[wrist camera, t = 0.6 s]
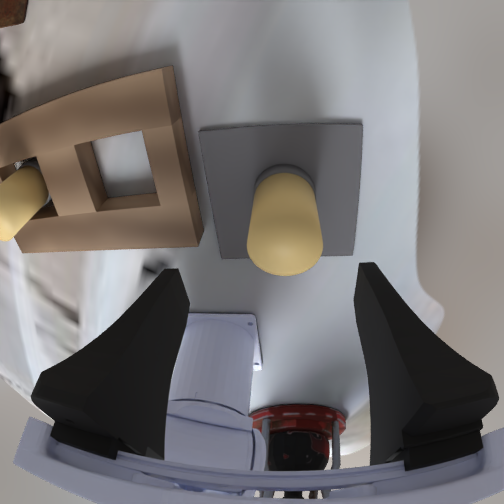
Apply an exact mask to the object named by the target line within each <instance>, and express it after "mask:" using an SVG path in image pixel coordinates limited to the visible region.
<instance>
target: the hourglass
mask: <svg viewBox="0 0 504 504" xmlns="http://www.w3.org/2000/svg"><path fill="white" fill-rule="evenodd" d="M248 417H251V418H253V424H252V428H254V429H258V430H259V431H260V433H261V435H262V436H263V437H264V440H265V444H266V461H265V468H264V471H316V470H324V469H325V467H326V465H327V463H328V460H329V453H330V450H329V441H328V440H331V439H332V460H333V462H332V467H331V470H333V469H339V468H340V465H341V464H340V438H339V435H341V434H342V433H343V432H344V431H345V429H346V422H345V416H344V415H343V414H342V413H341V412H340V411H337V410H335V409H332V408H329V407H324V406H317V405H301V404H294V405H280V406H274V407H269V408H263V409H261V410H258V411H256V412H253V413H251V414H250V415H249V416H248ZM259 492H260V497H261V498H273V496H274V492H275V491H259ZM284 492H285V493H284V497H283V499H304V498H303V497H302V491H284ZM330 492H331V490H321V493H322V497H323V499H326V498H327V497H329V493H330ZM317 495H318V490H314V491H310V493H309V499H317Z"/></svg>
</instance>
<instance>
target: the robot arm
mask: <svg viewBox="0 0 504 504" xmlns="http://www.w3.org/2000/svg"><path fill="white" fill-rule="evenodd" d="M189 306H190V302H189V299H188V296H187V293H186V290H185V287H184V284H183V281H182V278H181V275H180V272H179V269H164V270H163V271H162V272H161V273H160V274H159V276H158V277H157V278H156V279H155V280H154V281H153V282H152V283H151V285H150V286H149V287H148V288H147V289H146V290H145V291H144V292H143V293H142V295H141V296H140V297H139V298H138V299H137V300H136V301H135V302H134V303H133V304H132V305H131V306H130V307H129V308H128V309H127V310H126V311H125V312H124V314H123V315H122V316H121V317H120V318H119V319H118V320H117V321H115V322H114V323H113V324H112V325H111V326H110V327H109V328H108V329H107V330H105V331H104V332H103V333H102V334H101V335H99V336H98V337H97V338H96V339H94V340H93V341H92V342H90V343H89V344H88V345H86V346H85V347H84V348H82V349H81V350H79V351H78V352H76V353H75V354H73V355H72V356H70V357H68V358H67V359H65V360H64V361H62V362H60V363H58V364H56V365H54V366H52V367H51V368H49V369H47V370H45V371H43V372H41V374H40V376H39V379H38V381H37V383H36V385H35V387H34V390H33V392H32V394H31V399H32V401H33V403H34V404H35V405H36V406H37V407H38V408H40V409H41V410H42V411H43V412H44V413H46V414H47V415H48V416H49V417H51V418H52V419H53V420H54V421H55V423H54V426H51V425H49V424H47V423H45V422H43V421H40V420H38V419H35V418H32V417H29V419H28V421H27V424H26V426H25V429H24V432H23V434H22V437H21V440H20V443H19V446H18V449H17V452H16V454H15V458H14V461H13V463H14V464H15V465H17V466H19V467H20V468H22V469H24V470H26V471H28V472H30V473H31V474H33V475H35V476H37V477H39V478H41V479H43V480H45V481H47V482H49V483H51V484H53V485H55V486H57V487H59V488H61V489H64V490H66V491H68V492H70V493H73V494H75V495H77V496H80V497H82V498H85V499H87V500H90V501H92V502H95V503H97V504H472V503H475V502H478V501H480V500H483V499H485V498H487V497H490V496H492V495H494V494H497V493H499V492H501V491H503V490H504V428H501V429H498V430H496V431H493V432H490V433H488V434H485V435H484V436H482V437H481V433H480V430H481V429H482V428H483V424H482V420H481V419H482V418H483V417H484V416H486V414H488V413H489V412H490V411H491V410H492V409H493V408H494V407H495V406H496V404H497V402H498V400H499V396H498V392H497V389H496V386H495V383H494V381H493V378H492V376H491V375H490V374H488V373H487V372H485V371H483V370H482V369H480V368H479V367H477V366H475V365H474V364H472V363H471V362H469V361H468V360H466V359H465V358H464V357H462V356H461V355H459V354H458V353H457V352H456V351H454V350H453V349H452V348H450V347H449V346H448V345H447V344H446V343H445V342H443V341H442V340H441V339H440V338H439V337H438V336H437V335H435V334H434V333H433V332H432V331H431V330H430V329H429V328H428V327H427V326H426V325H425V324H424V323H423V322H422V321H421V320H420V319H419V318H418V316H417V315H416V314H415V313H414V312H413V311H412V310H411V309H410V307H409V306H408V305H407V304H406V303H405V301H404V300H403V299H402V298H401V296H400V295H399V294H398V293H397V292H396V290H395V289H394V288H393V286H392V285H391V284H390V282H389V281H388V280H387V278H386V277H385V276H384V274H383V273H382V272H381V270H380V269H379V268H378V266H377V265H376V264H375V263H374V262H367V263H359V268H358V275H357V281H356V288H355V294H354V307H355V316H356V323H357V327H358V332H359V336H360V341H361V345H362V350H363V354H364V359H365V363H366V368H367V375H368V384H369V396H370V416H371V450H370V466H364V467H355V468H345V469H333V470H316V471H264V468H265V461H266V444H265V440H264V437H263V436H262V435H261V433H260V431H259V430H258V429H254V428H252V424H253V418H251V417H248V414H249V407H250V397H251V386H252V376H253V370H261V369H262V360H261V353H260V345H259V338H258V331H257V324H256V317H255V316H254V315H252V314H200V313H189ZM177 356H178V357H177ZM176 359H177V360H176ZM175 363H176V364H175ZM174 366H175V368H174ZM173 370H174V372H173ZM172 374H173V376H172ZM171 379H172V380H171ZM343 488H344V489H343ZM331 489H339V490H333V491H331V492H330V493H329V497H327V498H326V499H283V498H261V497H254V495H255V491H256V490H258V491H314V490H331Z"/></svg>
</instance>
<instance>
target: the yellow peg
mask: <svg viewBox="0 0 504 504" xmlns="http://www.w3.org/2000/svg"><path fill="white" fill-rule="evenodd" d="M252 201H253V207H252V214H251V220H250V226H249V233H248V239H247V251H248V254H249V257H250V258H251V260H252V261H253V263H254V264H255V265H256V266H257V267H259V268H260V269H262V270H263V271H265V272H267V273H270V274H273V275H279V276H291V275H296V274H300V273H303V272H305V271H307V270H308V269H310V268H311V267H313V266H314V265H315V264H316V263H317V261H318V260H319V258H320V256H321V254H322V251H323V240H322V234H321V228H320V222H319V216H318V211H317V205H316V202H317V197H316V191H315V187H314V183H313V180H312V179H311V177H310V176H309V174H308V173H307V172H306V171H304V170H303V169H302V168H300V167H298V166H295V165H292V164H277V165H273V166H271V167H269V168H267V169H265V170H264V171H263V172H262V173H261V174H260V175H259V176H258V178H257V180H256V182H255V185H254V191H253V197H252Z"/></svg>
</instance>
